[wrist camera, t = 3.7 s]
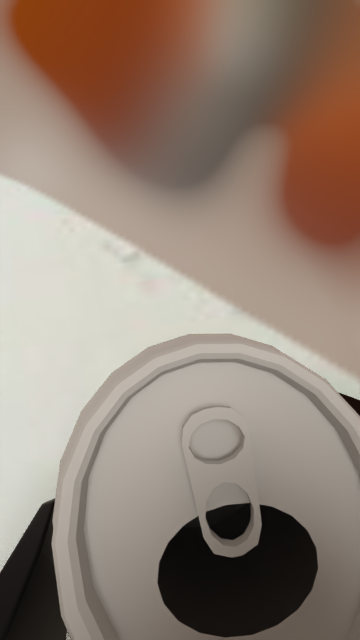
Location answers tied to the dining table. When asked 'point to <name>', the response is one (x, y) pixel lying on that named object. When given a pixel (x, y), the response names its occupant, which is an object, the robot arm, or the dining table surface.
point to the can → (210, 500)
